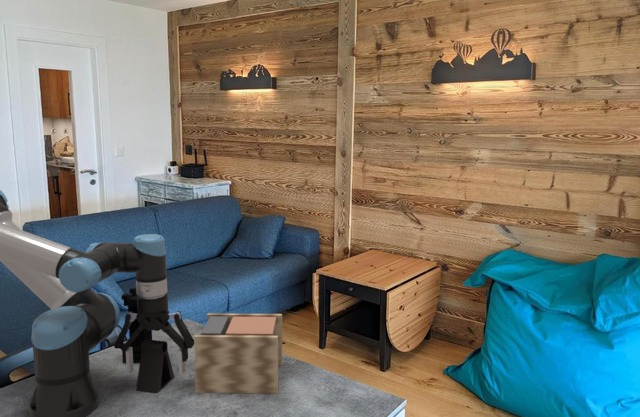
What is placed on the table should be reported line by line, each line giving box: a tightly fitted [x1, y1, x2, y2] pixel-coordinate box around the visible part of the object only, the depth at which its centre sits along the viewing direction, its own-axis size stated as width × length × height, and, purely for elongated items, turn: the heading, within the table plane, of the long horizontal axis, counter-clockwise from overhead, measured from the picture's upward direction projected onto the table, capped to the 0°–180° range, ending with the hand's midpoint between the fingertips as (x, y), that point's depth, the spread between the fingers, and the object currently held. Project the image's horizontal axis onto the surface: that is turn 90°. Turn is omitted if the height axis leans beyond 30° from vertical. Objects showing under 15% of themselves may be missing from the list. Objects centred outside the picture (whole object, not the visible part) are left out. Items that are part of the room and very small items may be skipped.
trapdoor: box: [200, 316, 276, 336], centre depth 139 cm, size 18×12×4 cm, turn 90°
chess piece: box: [120, 287, 153, 364], centre depth 151 cm, size 8×8×20 cm
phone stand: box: [135, 339, 175, 394], centre depth 136 cm, size 9×6×12 cm, turn 167°
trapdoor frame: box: [193, 312, 283, 394], centre depth 140 cm, size 21×17×15 cm
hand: (156, 372), depth 136 cm, fingers open, 13 cm apart
